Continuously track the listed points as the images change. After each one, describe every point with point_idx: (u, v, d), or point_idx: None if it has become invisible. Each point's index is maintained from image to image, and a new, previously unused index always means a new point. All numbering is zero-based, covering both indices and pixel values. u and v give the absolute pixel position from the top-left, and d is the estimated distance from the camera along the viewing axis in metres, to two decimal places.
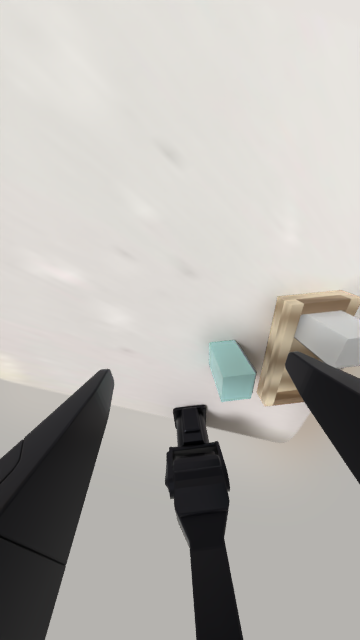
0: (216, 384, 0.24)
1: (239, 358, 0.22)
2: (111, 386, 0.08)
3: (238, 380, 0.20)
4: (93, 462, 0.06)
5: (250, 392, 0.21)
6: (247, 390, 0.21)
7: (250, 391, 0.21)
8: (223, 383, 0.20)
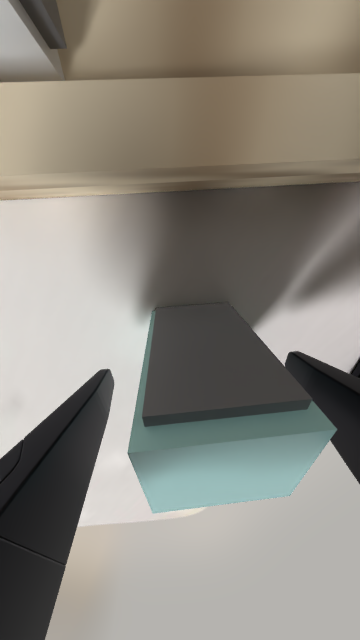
0: None
1: None
2: (111, 386, 0.08)
3: (174, 486, 0.04)
4: (93, 462, 0.06)
5: (281, 440, 0.04)
6: (257, 453, 0.04)
7: (272, 442, 0.04)
8: (188, 508, 0.05)
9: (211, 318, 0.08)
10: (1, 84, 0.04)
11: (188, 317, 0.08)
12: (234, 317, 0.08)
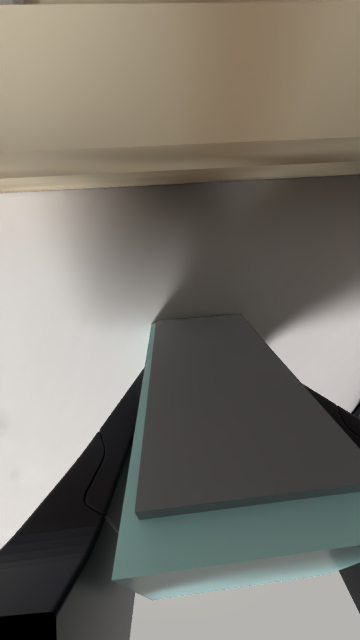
0: None
1: None
2: None
3: (181, 587, 0.03)
4: None
5: (345, 550, 0.02)
6: (306, 559, 0.03)
7: (332, 552, 0.02)
8: (197, 592, 0.04)
9: (222, 336, 0.06)
10: None
11: (194, 334, 0.07)
12: (250, 335, 0.06)
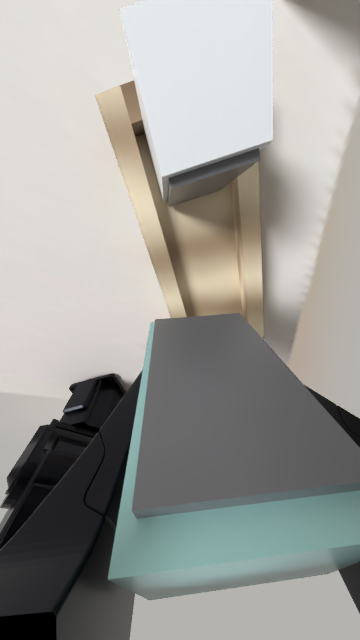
0: None
1: None
2: None
3: (179, 587, 0.03)
4: None
5: (345, 549, 0.02)
6: (305, 559, 0.03)
7: (331, 552, 0.02)
8: None
9: (221, 335, 0.06)
10: (149, 189, 0.11)
11: (193, 333, 0.07)
12: (249, 334, 0.06)
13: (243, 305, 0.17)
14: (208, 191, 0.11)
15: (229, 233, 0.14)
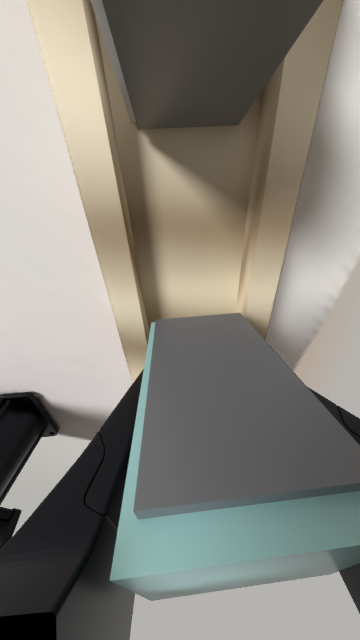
0: None
1: None
2: None
3: (181, 587, 0.03)
4: None
5: (347, 550, 0.02)
6: (307, 559, 0.03)
7: (333, 552, 0.02)
8: (198, 593, 0.04)
9: (222, 335, 0.06)
10: (90, 54, 0.05)
11: (194, 333, 0.07)
12: (250, 333, 0.06)
13: None
14: (218, 100, 0.05)
15: (238, 216, 0.09)
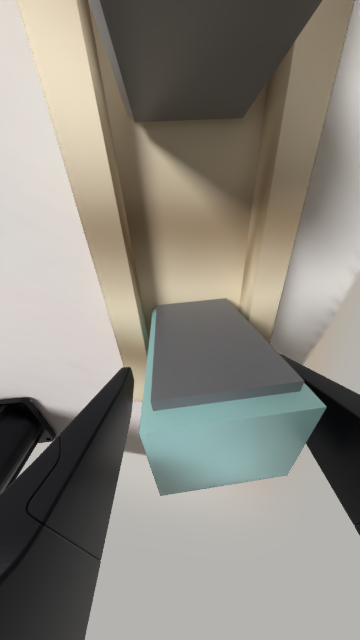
0: None
1: None
2: (132, 384, 0.08)
3: (181, 467, 0.05)
4: (120, 459, 0.06)
5: (277, 419, 0.04)
6: (256, 431, 0.04)
7: (269, 420, 0.04)
8: (193, 489, 0.06)
9: (210, 313, 0.08)
10: (81, 37, 0.04)
11: (188, 313, 0.08)
12: (232, 312, 0.08)
13: None
14: (222, 88, 0.05)
15: (241, 216, 0.08)
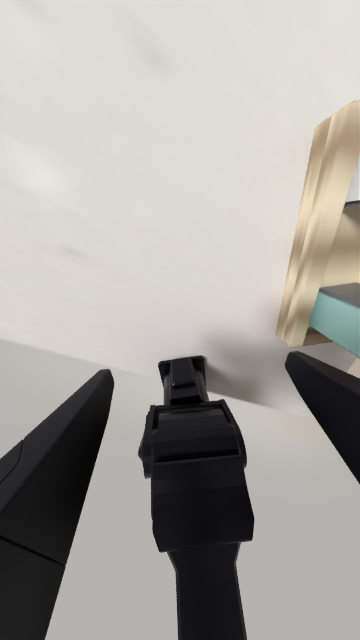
0: None
1: (344, 314, 0.15)
2: (111, 386, 0.08)
3: None
4: (93, 462, 0.06)
5: None
6: None
7: None
8: None
9: (359, 289, 0.16)
10: (348, 189, 0.13)
11: (346, 289, 0.16)
12: None
13: None
14: None
15: None
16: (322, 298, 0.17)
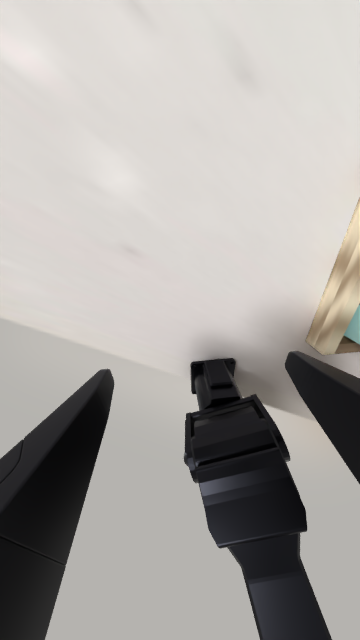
0: None
1: None
2: (111, 386, 0.08)
3: None
4: (93, 462, 0.06)
5: None
6: None
7: None
8: None
9: None
10: None
11: None
12: None
13: None
14: None
15: None
16: None
